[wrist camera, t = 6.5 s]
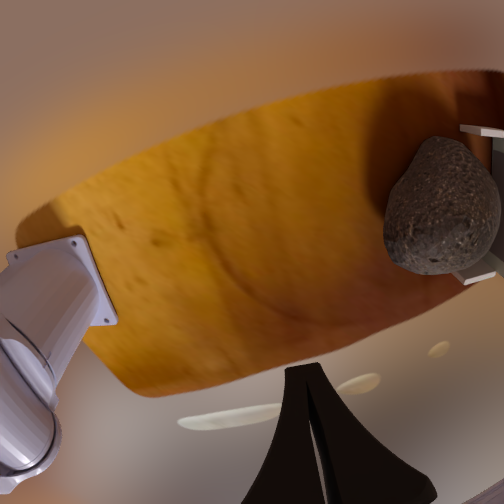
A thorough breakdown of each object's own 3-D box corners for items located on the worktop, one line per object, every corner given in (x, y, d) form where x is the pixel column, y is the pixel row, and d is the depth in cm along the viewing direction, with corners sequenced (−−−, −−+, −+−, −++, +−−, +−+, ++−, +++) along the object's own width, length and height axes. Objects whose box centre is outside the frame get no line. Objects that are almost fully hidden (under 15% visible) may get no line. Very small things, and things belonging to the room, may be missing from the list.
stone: (449, 153, 21) (451, 90, 13) (506, 231, 18) (545, 204, 9) (369, 216, 25) (334, 184, 17) (420, 298, 22) (415, 311, 14)
